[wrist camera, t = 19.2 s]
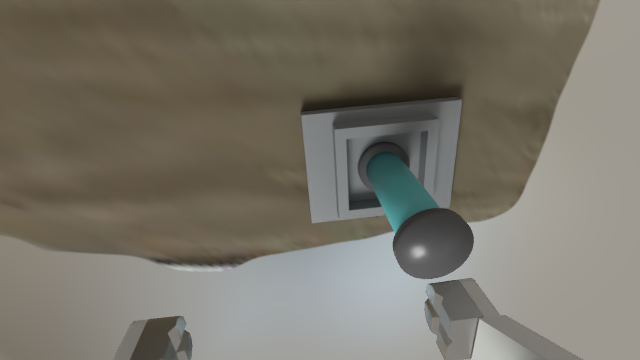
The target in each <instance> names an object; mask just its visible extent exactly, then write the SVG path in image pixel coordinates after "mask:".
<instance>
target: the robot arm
mask: <svg viewBox="0 0 640 360" xmlns="http://www.w3.org/2000/svg"><path fill="white" fill-rule="evenodd" d="M426 294H427V296H428V297H429V298H428V299H427V301H426V302H425V316H426V320H427V323H428V326H429V328H430V330H431V332H433V333H434V334H436V335H437V342H436V343H437V345H438V347H439V349H440V352H441V354H442V356H443V358H444V360H462V359H471V360H583V359H581V358H579V357H578V356H576V355H574V354H572V353H571V352H569V351H567V350H565V349H564V348H562V347H560V346H558V345H557V344H555V343H553V342H551V341H550V340H548V339H546V338H544V337H543V336H541V335H539V334H537V333H536V332H534V331H532V330H530V329H529V328H527V327H525V326H523V325H521V324H520V323H518V322H516V321H515V320H513V319H511V318H509V317H508V316H506V315H500V314H499V313H498V311H497V310H496V309H495V307H494V306H493V305H492V303H491V302H490V301H489V299H488V298H487V296H486V295H485V294H484V292H483V291H482V290H481V288H480V287H479V285H478V284H477V283H476V281H475V280H474V279H472V278H468V279H460V280H452V281H446V282H439V283H431V284H428V285H427V287H426ZM185 326H186V322H185V319H184V317H183V316H175V317H166V318H157V319H149V320H139V321H134V322H133V323H132V324H131V325H130V326H129V328H128V330H127V332H126V334H125V336H124V338H123V340H122V342H121V344H120V346H119V348H118V350H117V352H116V354H115V356H114V358H113V360H191V356H192V338H191V335H190V333H189V332H187V331H186V330H184V329H185Z"/></svg>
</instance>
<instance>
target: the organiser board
mask: <svg viewBox="0 0 640 360" xmlns="http://www.w3.org/2000/svg"><path fill="white" fill-rule="evenodd" d="M461 106H462V99H460V98H457V97H449V98H439V99H429V100H418V101H408V102H397V103H387V104H377V105H366V106H356V107H346V108H335V109H325V110H314V111H304V112H301V121H302V131H303V141H304V151H305V161H306V172H307V182H308V192H309V202H310V212H311V221H312V223H317V222H326V221H334V220H346V219H354V218H363V217H372V216H380V215H386V214H385V212H384V210H383V208H382V206H381V204H380V202H379V200H378V198H377V196H376V194H375V192H374V191H373V190H371V189H369V188H367V187H366V186H365V185H364V184H363V183H362V181H361V179H360V177H359V174H358V169H357V167H358V161H359V158H360V156H361V155H362V153H363V152H364V151H365V150H366V149H367V148H368V147H370V146H371V145H373V144H376V143H379V142H391V143H394V144H396V145H398V146H400V147H401V148H402V149H403V150H404V152H405V153H406V154H407V156H408V158H409V162H410V171H411V172H412V173H413V174H414V176H415V177H416V178H417V179H418V181H419V182H420V183H421V184H422V186H423V187H424V188H425V189H426V191H427V192H428V193H429V194H430V196H431V197H432V198H433V199H434V201H435V202H436V203H437V204H438V205H439V207H440V208H447V207H450V198H451V190H452V182H453V173H454V165H455V157H456V148H457V140H458V132H459V123H460V115H461Z"/></svg>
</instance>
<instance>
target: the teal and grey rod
mask: <svg viewBox="0 0 640 360" xmlns="http://www.w3.org/2000/svg"><path fill="white" fill-rule="evenodd" d="M357 169H358V174H359V177H360V179H361V181H362V183H363V184H364V185H365V186H366V187H367V188H369V189H371V190H373V191H374V192H375V194H376V196H377V198H378V200H379V202H380V204H381V206H382V208H383V210H384V212H385V214H386V216H387V218H388V220H389V222H390V224H391V226H392V228H393V230H394V232H395V236H394V241H393V251H394V254H395V256H396V259H397V261H398V263H399V265H400V267H401V268H402V269H403V270H404V271H405V272H406V273H407V274H409V275H411V276H413V277H416V278H422V279H433V278H438V277H442V276H445V275H447V274H449V273H451V272H453V271H455V270H456V269H457V268H459V267H460V266H461V265H462V264H463V263H464V262H465V261H466V260H467V258H468V257H469V255H470V253H471V251H472V248H473V243H474V237H473V233H472V230H471V228H470V227H469V225H468V224H467V223H466V222H465V221H464V220H463V218H462V217H461V216H460V215H459V214H457V213H456V212H454V211H452V210H449V209H444V208H440V207H439V205H438V204H437V203H436V202H435V201H434V199H433V198H432V197H431V196H430V194H429V193H428V192H427V191H426V189H425V188H424V187H423V186H422V184H421V183H420V182H419V181H418V179H417V178H416V177H415V176H414V174H413V173H412V172H411V171H410V162H409V158H408V156H407V154H406V153H405V152H404V150H403V149H402V148H401V147H400V146H398V145H396V144H394V143H391V142H379V143H376V144H373V145H371V146H370V147H368V148H367V149H366V150H365V151H364V152H363V153H362V155H361V156H360V158H359V161H358V167H357Z"/></svg>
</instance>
